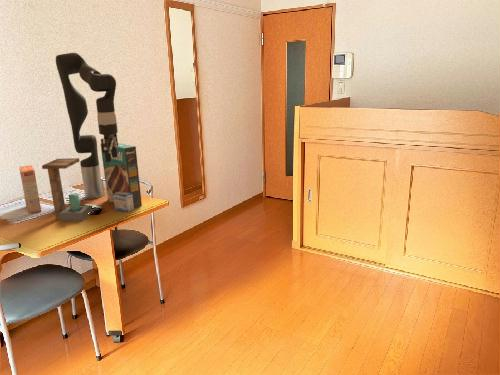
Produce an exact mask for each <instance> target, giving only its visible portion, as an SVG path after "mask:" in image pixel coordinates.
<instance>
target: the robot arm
mask: <svg viewBox="0 0 500 375" xmlns="http://www.w3.org/2000/svg"><path fill="white" fill-rule="evenodd" d="M55 66H56V69H57V72H58V75H59V76H58V77H59V79H60V82H61V86H62V89H63V90H62V91H63V94H64V100H65V105H66V109H67V114H68V117H69V122H70V126H71V127H70V128H71V131H72V132H71V133H72V140H73V144H74V149H75V151H76V153H77V154H91V155H90V156H88V157H85V158H84V159H81V160H79V164H80V170H81V171H80V172H81V176H82V177H81V178H82V184H83V192H84V198H86V199H98V198H102V197H103V196H105V195H106V193H105V186H104V178H103V177H102V176H101V168H100V161H99V160H100V159H99V154H98V153H99V152H98V140H97V137H96V135H95V134H85V135H81V134H80V132H81V129H82V126H83V124H84V123H85V121H86V119H87V116H88V113H89V110H88V104H87V100H86V98H85V97H84V95H83V94H82V93H81V92H80V91H79V90H78V89H77V88H76V87H75V86H74V84H73V83H72V82H71V79H70V77H69V76H70V75H75V74H78V76H79V77H80V78H81V80H82V81H83V82H85V83H86V84H87V85H88V86H89V89H90V90H91V91H93V92H97V93H101V92H105V93H104V95H103V96H101V97H97V99H96V101H95V104H96V113H97V116H96V118H97V127H98V132H99V135H102V136H103V138H101V139H100V147H101V146H102V152H101V154H102V153H105V159H106V162H111V153H110V151H111V152H112V157H113V158H116V157H117V147H118V143H119V141H118V132H119V131H118V123H117V114H116V110H115V94H116V88H117V81H116V78H115V76H114V75H112V74H111V73H102V72H100V71H99V70H98V69H96V68H95V67H93V66H91V65H90V64H89V63H88V62H87V61H86V60H85V58H84V57H83V56H82V55H80V54H79V53H77V52H69V53H68V52H67V53H62V54H56V56H55ZM106 149H107V150H106Z"/></svg>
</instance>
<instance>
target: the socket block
mask: <svg viewBox="0 0 500 375" xmlns="http://www.w3.org/2000/svg"><path fill="white" fill-rule="evenodd" d="M65 208H66V209H65V210H63V211H62V212H60V213H59V214H60V220H59V221H60V223H61V222H62V223H63V222H64V223H65V222H67V223H68V222H84V221H85V220H86V219H87V218H88V217H89V216H91V215H92V213H93V212H92V206H91V205H80V208H81V210H80V211H71V209H70V205H69V206H68V207H65ZM90 211H91V212H90ZM89 212H90V213H89ZM88 213H89V214H88Z"/></svg>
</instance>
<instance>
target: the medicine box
mask: <svg viewBox="0 0 500 375" xmlns="http://www.w3.org/2000/svg"><path fill="white" fill-rule="evenodd" d="M113 203H114V210H115V211H116V212H117V211H118V212H127V213H129V212H131V211H133V210H135V208H134V206H133V196H132V193H129V192H116V193H114V202H113Z"/></svg>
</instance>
